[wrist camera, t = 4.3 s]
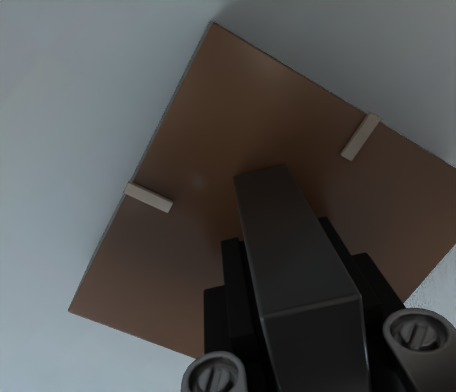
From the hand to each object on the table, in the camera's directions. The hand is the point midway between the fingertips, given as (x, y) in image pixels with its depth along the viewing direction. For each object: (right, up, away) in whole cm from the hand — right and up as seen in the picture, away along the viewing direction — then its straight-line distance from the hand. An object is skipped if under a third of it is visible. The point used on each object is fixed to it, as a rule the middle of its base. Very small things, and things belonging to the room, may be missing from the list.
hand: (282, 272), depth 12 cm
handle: (0, 0, +1) cm, 1 cm away
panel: (0, +2, +4) cm, 4 cm away
